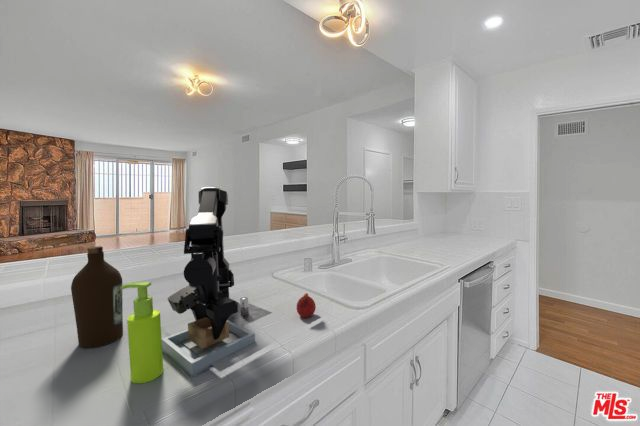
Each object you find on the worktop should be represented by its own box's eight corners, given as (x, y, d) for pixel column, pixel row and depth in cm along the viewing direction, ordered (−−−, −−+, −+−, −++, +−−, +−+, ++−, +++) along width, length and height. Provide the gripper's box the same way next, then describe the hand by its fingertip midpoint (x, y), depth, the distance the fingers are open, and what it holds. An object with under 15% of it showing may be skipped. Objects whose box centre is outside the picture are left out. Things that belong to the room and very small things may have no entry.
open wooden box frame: (188, 339, 69) (187, 323, 69) (214, 328, 75) (214, 314, 74) (202, 348, 65) (201, 332, 64) (229, 336, 70) (228, 321, 70)
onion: (313, 323, 82) (312, 297, 81) (294, 322, 83) (293, 296, 82) (317, 315, 87) (317, 290, 87) (299, 314, 89) (299, 289, 88)
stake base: (216, 318, 86) (216, 299, 86) (249, 306, 96) (248, 289, 95) (239, 330, 79) (238, 309, 78) (272, 315, 88) (271, 297, 87)
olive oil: (69, 354, 68) (60, 253, 66) (83, 335, 77) (76, 246, 76) (121, 343, 73) (115, 248, 71) (128, 326, 82) (123, 242, 80)
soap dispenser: (135, 367, 62) (130, 279, 61) (168, 365, 63) (163, 278, 62) (119, 385, 57) (112, 288, 55) (155, 382, 57) (149, 286, 56)
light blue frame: (162, 350, 69) (161, 339, 69) (221, 326, 81) (221, 316, 81) (192, 377, 58) (191, 363, 58) (255, 345, 71) (254, 333, 70)
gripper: (155, 273, 68) (159, 335, 69) (190, 289, 56) (194, 363, 57) (199, 264, 77) (202, 319, 78) (238, 276, 65) (241, 341, 66)
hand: (208, 334), depth 70 cm, fingers closed on open wooden box frame, 7 cm apart
